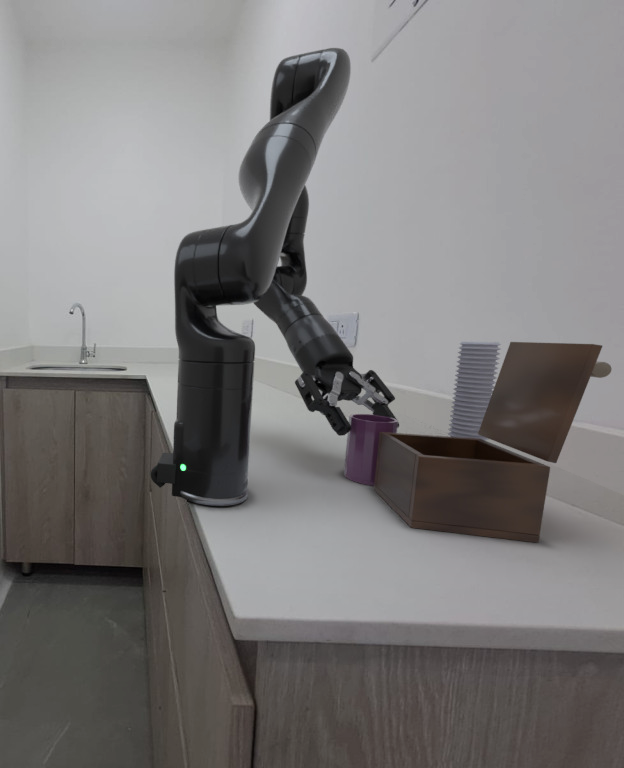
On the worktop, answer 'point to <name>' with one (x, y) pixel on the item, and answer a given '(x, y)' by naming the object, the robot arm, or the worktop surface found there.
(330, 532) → the worktop surface
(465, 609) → the worktop surface
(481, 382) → the screw
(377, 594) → the worktop surface
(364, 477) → the cup
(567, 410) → the lid
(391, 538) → the worktop surface
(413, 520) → the chest
